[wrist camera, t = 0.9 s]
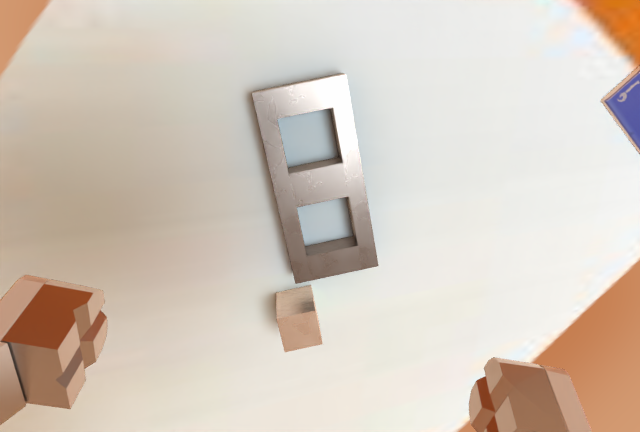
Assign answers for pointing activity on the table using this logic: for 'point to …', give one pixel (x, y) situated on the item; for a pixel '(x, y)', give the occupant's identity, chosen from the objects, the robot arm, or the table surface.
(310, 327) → the block
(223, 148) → the table surface
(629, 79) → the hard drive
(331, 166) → the rail
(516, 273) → the table surface
